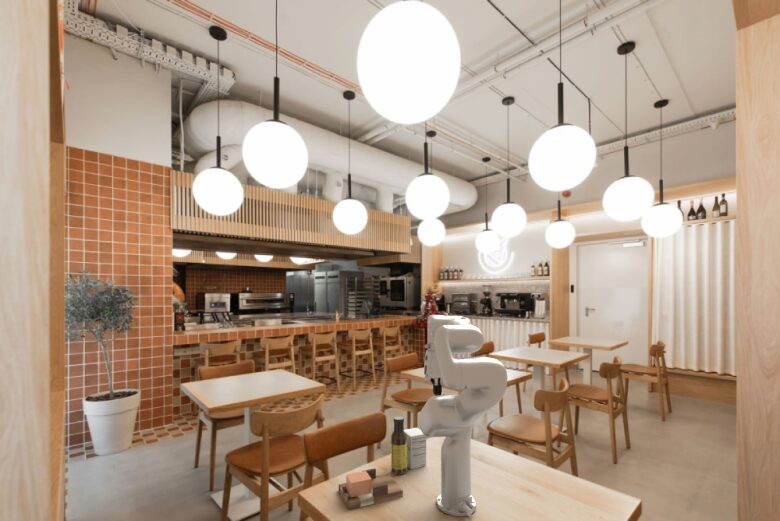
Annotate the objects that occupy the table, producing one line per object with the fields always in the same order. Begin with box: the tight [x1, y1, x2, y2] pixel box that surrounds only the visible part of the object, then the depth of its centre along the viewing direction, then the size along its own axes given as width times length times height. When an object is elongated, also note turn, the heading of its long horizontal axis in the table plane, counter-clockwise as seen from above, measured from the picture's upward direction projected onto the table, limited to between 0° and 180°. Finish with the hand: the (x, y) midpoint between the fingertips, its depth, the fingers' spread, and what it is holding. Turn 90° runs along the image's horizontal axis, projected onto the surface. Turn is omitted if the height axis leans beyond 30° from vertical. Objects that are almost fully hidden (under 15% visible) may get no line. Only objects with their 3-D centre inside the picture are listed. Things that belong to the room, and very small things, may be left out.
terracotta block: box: [345, 470, 372, 498], centre depth 123 cm, size 6×7×4 cm
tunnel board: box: [338, 467, 404, 511], centre depth 125 cm, size 12×19×5 cm, turn 113°
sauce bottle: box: [390, 415, 408, 475], centre depth 141 cm, size 6×6×20 cm
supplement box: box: [404, 427, 427, 470], centre depth 147 cm, size 7×7×13 cm
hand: (437, 394), depth 141 cm, fingers closed
